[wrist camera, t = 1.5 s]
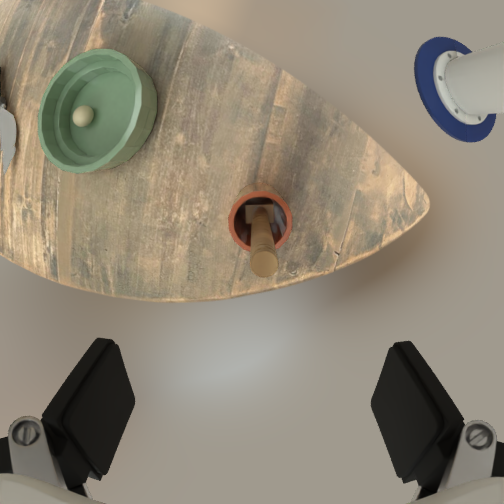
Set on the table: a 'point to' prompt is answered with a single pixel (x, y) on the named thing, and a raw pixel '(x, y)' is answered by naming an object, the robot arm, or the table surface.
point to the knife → (7, 133)
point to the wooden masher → (261, 236)
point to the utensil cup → (243, 229)
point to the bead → (83, 116)
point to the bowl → (97, 112)
